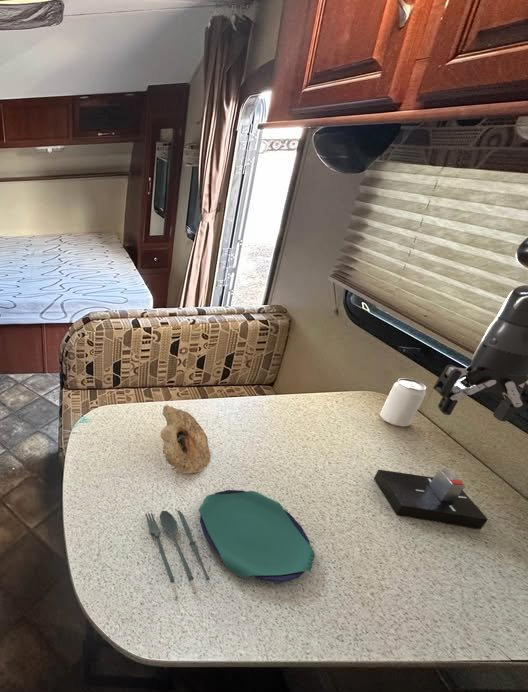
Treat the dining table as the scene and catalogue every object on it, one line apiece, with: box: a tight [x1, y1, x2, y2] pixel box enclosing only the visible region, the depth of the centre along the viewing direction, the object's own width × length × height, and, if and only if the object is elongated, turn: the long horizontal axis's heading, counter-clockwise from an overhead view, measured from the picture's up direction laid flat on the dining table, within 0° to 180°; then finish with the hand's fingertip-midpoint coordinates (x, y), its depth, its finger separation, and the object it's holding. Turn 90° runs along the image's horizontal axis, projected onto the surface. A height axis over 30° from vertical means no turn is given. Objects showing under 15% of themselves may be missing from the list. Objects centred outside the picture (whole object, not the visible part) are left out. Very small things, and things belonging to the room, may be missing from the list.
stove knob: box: [429, 468, 466, 503], centre depth 77 cm, size 4×2×5 cm, turn 164°
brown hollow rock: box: [160, 404, 211, 475], centre depth 96 cm, size 18×14×8 cm
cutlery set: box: [145, 489, 316, 583], centre depth 74 cm, size 20×30×2 cm, turn 93°
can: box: [379, 377, 427, 428], centre depth 100 cm, size 6×6×12 cm
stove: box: [373, 468, 489, 530], centre depth 79 cm, size 14×10×3 cm
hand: (470, 415), depth 74 cm, fingers open, 8 cm apart
